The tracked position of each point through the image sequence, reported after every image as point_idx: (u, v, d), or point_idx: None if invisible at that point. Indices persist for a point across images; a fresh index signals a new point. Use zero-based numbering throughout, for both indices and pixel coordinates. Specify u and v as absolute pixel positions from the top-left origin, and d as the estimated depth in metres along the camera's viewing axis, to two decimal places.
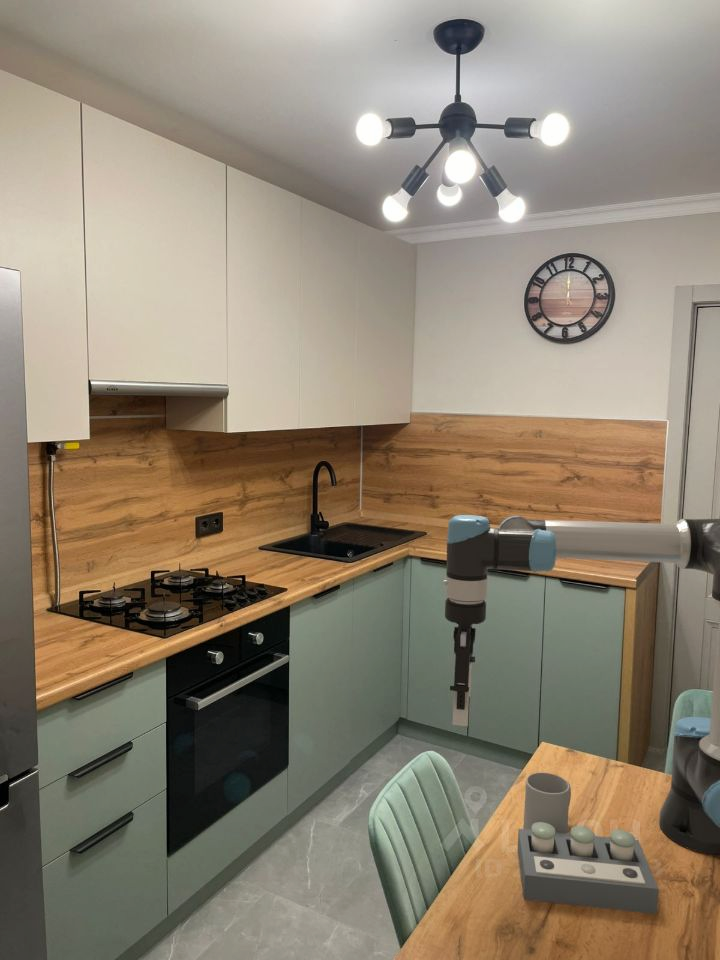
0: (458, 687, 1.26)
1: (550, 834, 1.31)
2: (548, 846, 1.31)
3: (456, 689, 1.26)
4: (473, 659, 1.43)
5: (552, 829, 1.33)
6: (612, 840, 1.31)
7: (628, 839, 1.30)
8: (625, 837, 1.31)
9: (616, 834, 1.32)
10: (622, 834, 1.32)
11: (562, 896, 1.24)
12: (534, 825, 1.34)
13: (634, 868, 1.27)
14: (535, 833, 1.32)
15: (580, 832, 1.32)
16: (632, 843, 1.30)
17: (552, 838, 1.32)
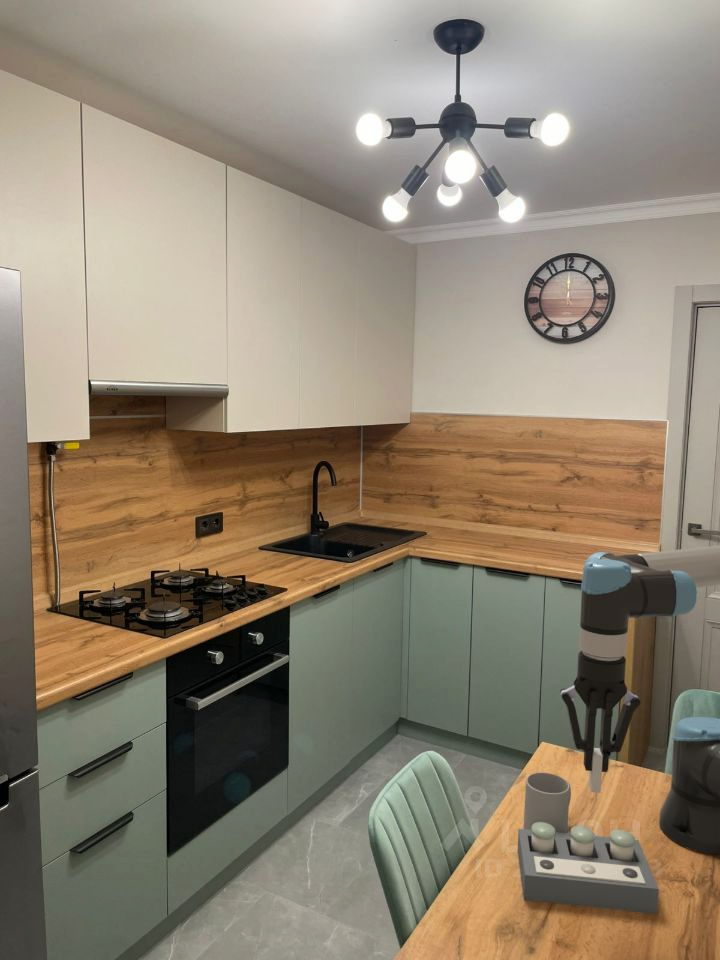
0: None
1: (550, 834, 1.31)
2: (548, 846, 1.31)
3: None
4: (606, 753, 1.21)
5: (552, 829, 1.33)
6: (612, 840, 1.31)
7: (628, 839, 1.30)
8: (625, 837, 1.31)
9: (616, 834, 1.32)
10: (622, 834, 1.32)
11: (562, 896, 1.24)
12: (534, 825, 1.34)
13: (634, 868, 1.27)
14: (535, 833, 1.32)
15: (580, 832, 1.32)
16: (632, 843, 1.30)
17: (552, 838, 1.32)
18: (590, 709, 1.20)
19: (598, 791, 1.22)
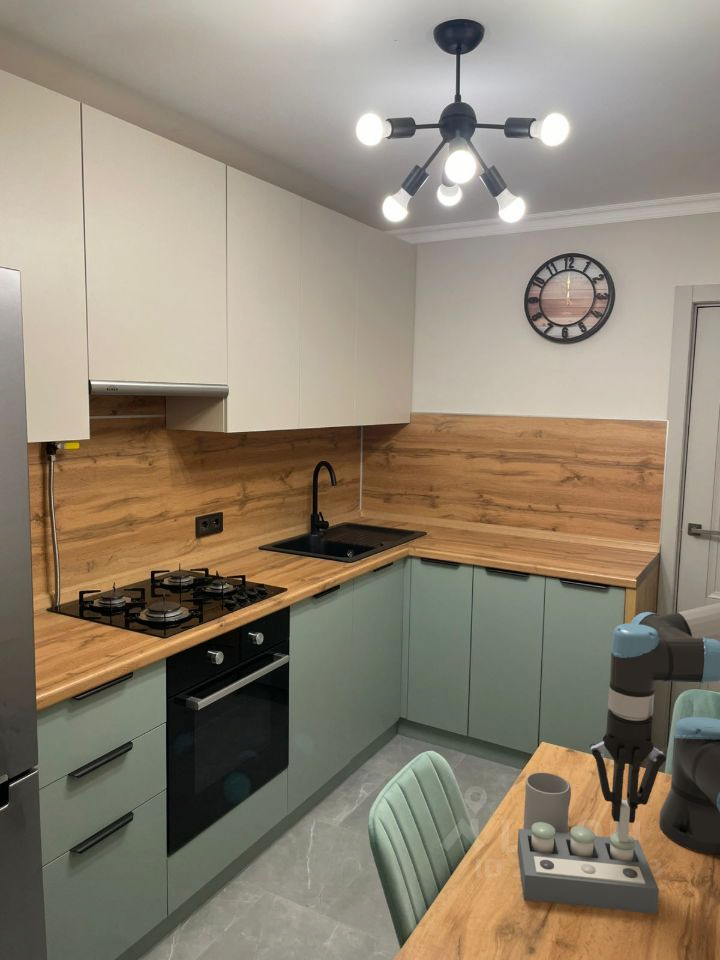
0: (603, 791, 1.31)
1: (550, 834, 1.31)
2: (548, 846, 1.31)
3: (602, 792, 1.32)
4: (633, 805, 1.29)
5: (552, 829, 1.33)
6: (612, 843, 1.31)
7: (628, 842, 1.30)
8: None
9: (616, 836, 1.32)
10: None
11: (562, 896, 1.24)
12: (534, 825, 1.34)
13: (634, 868, 1.27)
14: (535, 833, 1.32)
15: (580, 832, 1.32)
16: (632, 845, 1.30)
17: (552, 838, 1.32)
18: (619, 764, 1.28)
19: (625, 841, 1.30)
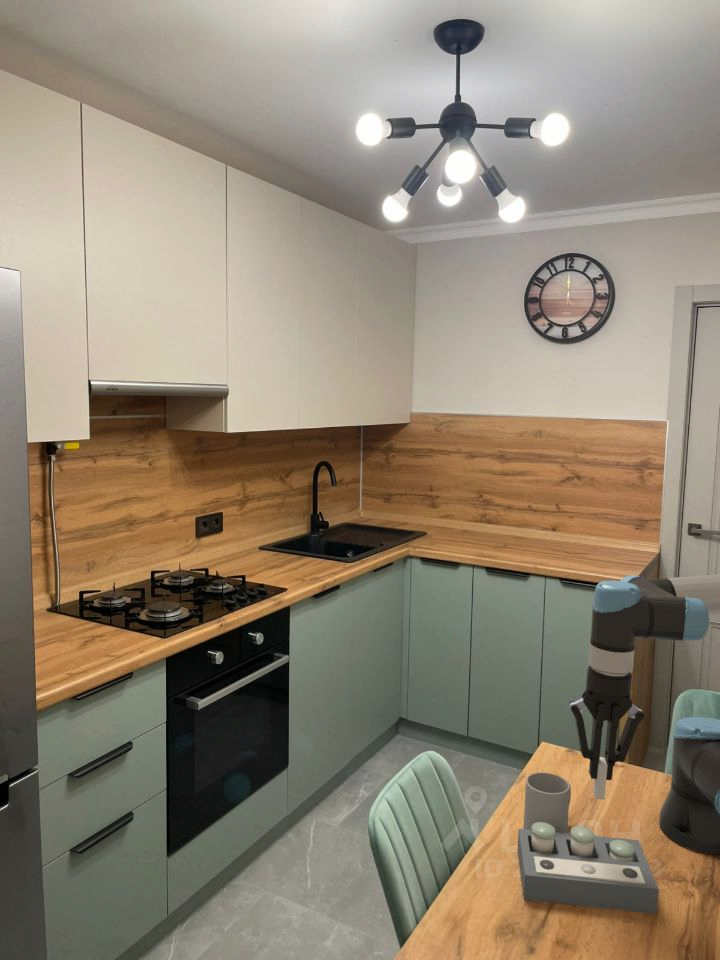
0: (581, 749, 1.31)
1: (550, 834, 1.31)
2: (548, 846, 1.31)
3: None
4: (611, 762, 1.28)
5: (552, 829, 1.33)
6: (611, 850, 1.31)
7: (627, 849, 1.30)
8: (625, 848, 1.31)
9: (615, 844, 1.32)
10: (621, 844, 1.32)
11: (562, 896, 1.24)
12: (534, 825, 1.34)
13: (634, 868, 1.27)
14: (535, 833, 1.32)
15: (580, 832, 1.32)
16: (632, 853, 1.30)
17: (552, 838, 1.32)
18: (597, 721, 1.28)
19: (602, 798, 1.30)
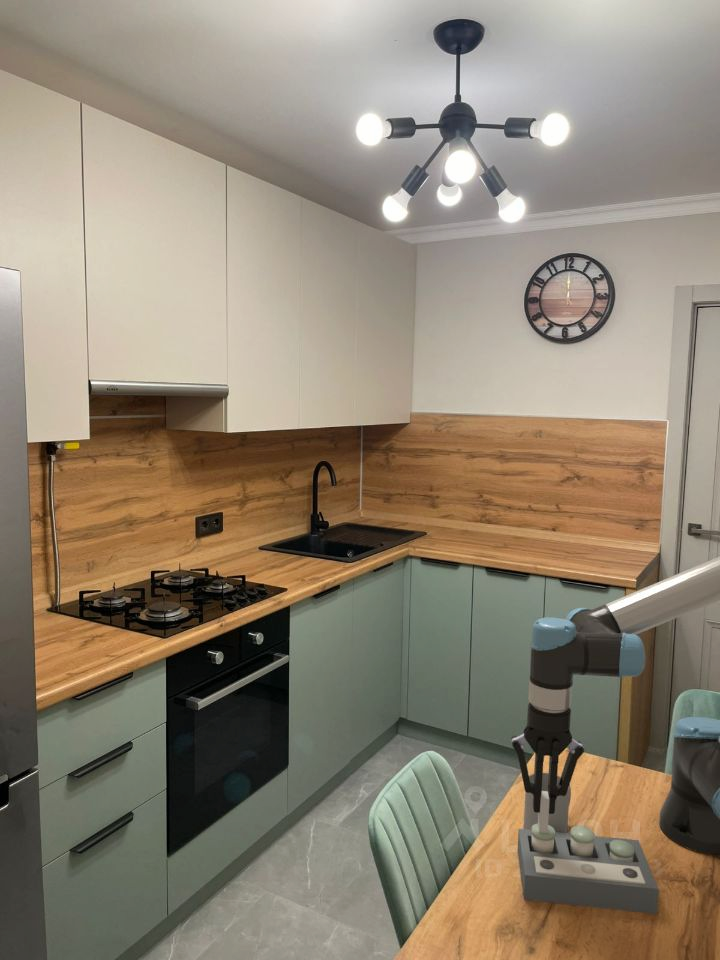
0: None
1: (550, 835, 1.31)
2: (548, 847, 1.31)
3: None
4: (552, 796, 1.31)
5: (552, 830, 1.33)
6: (611, 850, 1.31)
7: (627, 849, 1.30)
8: (625, 848, 1.31)
9: (615, 844, 1.32)
10: (621, 844, 1.32)
11: (562, 896, 1.24)
12: (534, 826, 1.34)
13: (634, 868, 1.27)
14: (535, 834, 1.32)
15: (580, 832, 1.32)
16: (632, 853, 1.30)
17: (552, 839, 1.32)
18: (538, 756, 1.30)
19: (545, 831, 1.32)
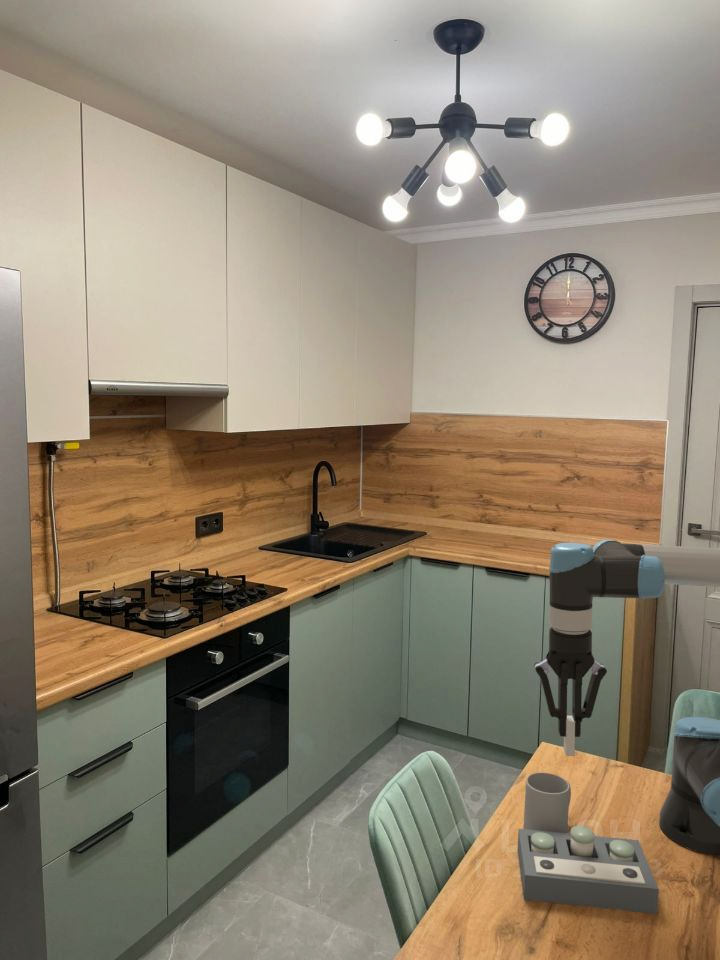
0: (549, 708, 1.34)
1: (549, 844, 1.32)
2: None
3: None
4: (578, 719, 1.32)
5: (551, 839, 1.33)
6: (611, 850, 1.31)
7: (627, 849, 1.30)
8: (625, 848, 1.31)
9: (615, 844, 1.32)
10: (621, 844, 1.32)
11: (562, 896, 1.24)
12: (534, 835, 1.34)
13: (634, 868, 1.27)
14: (535, 843, 1.32)
15: (580, 832, 1.32)
16: (632, 853, 1.30)
17: (551, 848, 1.32)
18: (562, 680, 1.32)
19: (572, 754, 1.33)
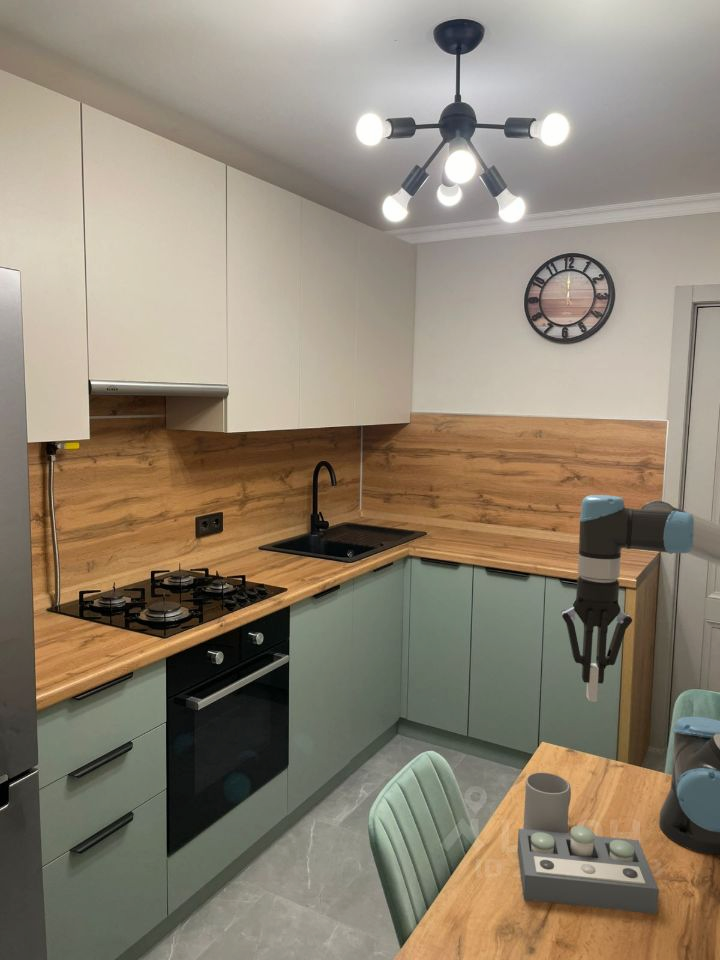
0: None
1: (549, 844, 1.32)
2: None
3: (573, 656, 1.39)
4: (602, 665, 1.36)
5: (551, 839, 1.33)
6: (611, 850, 1.31)
7: (627, 849, 1.30)
8: (625, 848, 1.31)
9: (615, 844, 1.32)
10: (621, 844, 1.32)
11: (562, 896, 1.24)
12: (534, 835, 1.34)
13: (634, 868, 1.27)
14: (535, 843, 1.32)
15: (580, 832, 1.32)
16: (632, 853, 1.30)
17: (551, 848, 1.32)
18: (587, 627, 1.36)
19: (595, 700, 1.37)
